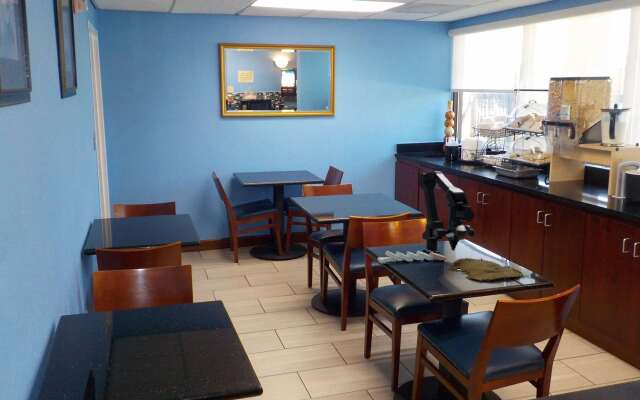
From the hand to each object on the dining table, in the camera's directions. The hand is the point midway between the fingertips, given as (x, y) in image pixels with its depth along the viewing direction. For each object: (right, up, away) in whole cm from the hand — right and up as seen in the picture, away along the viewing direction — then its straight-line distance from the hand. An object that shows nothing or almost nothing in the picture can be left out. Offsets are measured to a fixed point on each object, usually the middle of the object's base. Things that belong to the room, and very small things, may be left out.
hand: (453, 250), depth 272 cm
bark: (+10, -9, -19) cm, 23 cm away
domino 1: (-28, -4, -5) cm, 29 cm away
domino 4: (-15, -4, -2) cm, 16 cm away
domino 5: (-10, -4, -1) cm, 11 cm away
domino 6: (-4, -4, -1) cm, 6 cm away
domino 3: (-21, -4, -4) cm, 21 cm away
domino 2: (-26, -4, -5) cm, 26 cm away
